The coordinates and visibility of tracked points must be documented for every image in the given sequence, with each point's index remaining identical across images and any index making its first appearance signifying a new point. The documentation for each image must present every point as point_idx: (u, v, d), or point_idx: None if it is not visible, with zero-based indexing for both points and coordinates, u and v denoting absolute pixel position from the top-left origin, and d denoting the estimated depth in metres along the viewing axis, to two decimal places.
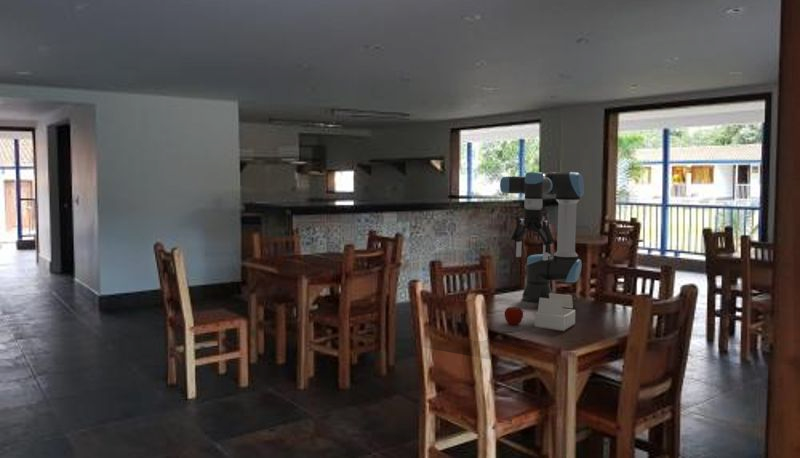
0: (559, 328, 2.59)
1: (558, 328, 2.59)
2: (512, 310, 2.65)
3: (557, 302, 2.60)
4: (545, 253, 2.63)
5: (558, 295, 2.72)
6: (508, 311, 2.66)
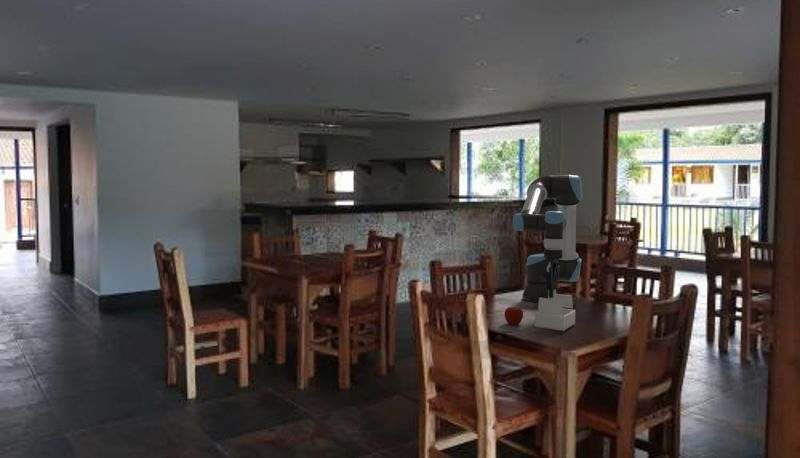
0: (559, 328, 2.59)
1: (558, 328, 2.59)
2: (512, 310, 2.65)
3: (557, 302, 2.59)
4: (549, 298, 2.62)
5: (558, 295, 2.72)
6: (508, 311, 2.66)
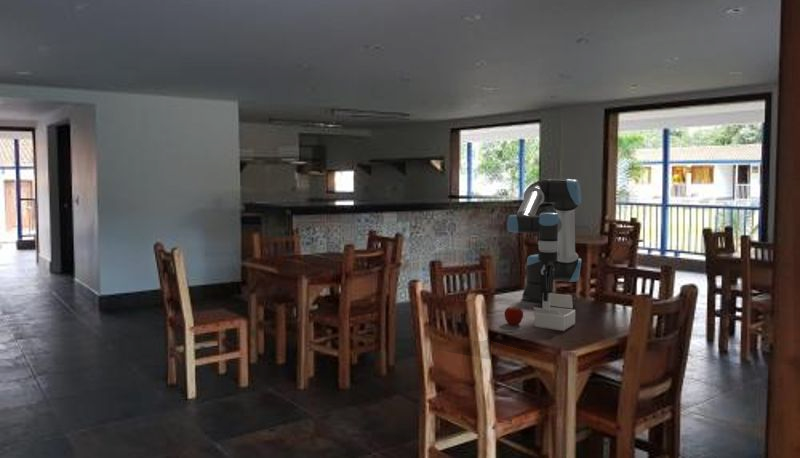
0: (559, 328, 2.59)
1: (558, 328, 2.59)
2: (512, 310, 2.65)
3: (552, 311, 2.55)
4: (544, 301, 2.56)
5: (558, 295, 2.72)
6: (508, 311, 2.66)
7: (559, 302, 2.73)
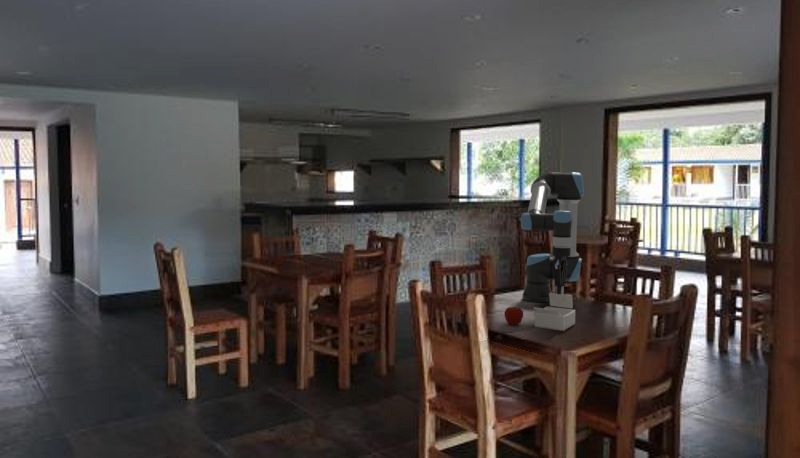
0: (559, 328, 2.59)
1: (558, 328, 2.59)
2: (512, 310, 2.65)
3: (552, 311, 2.55)
4: (557, 294, 2.71)
5: None
6: (508, 311, 2.66)
7: (559, 302, 2.73)
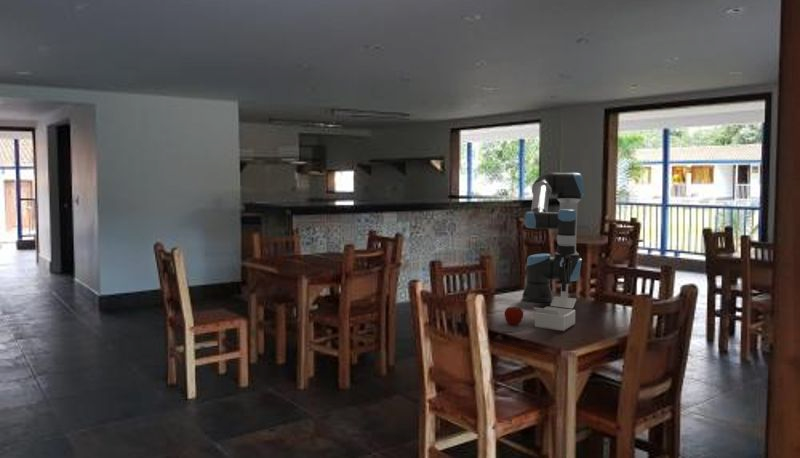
0: (559, 328, 2.59)
1: (558, 328, 2.59)
2: (512, 310, 2.65)
3: (552, 311, 2.55)
4: (562, 291, 2.76)
5: None
6: (508, 311, 2.66)
7: (561, 303, 2.75)
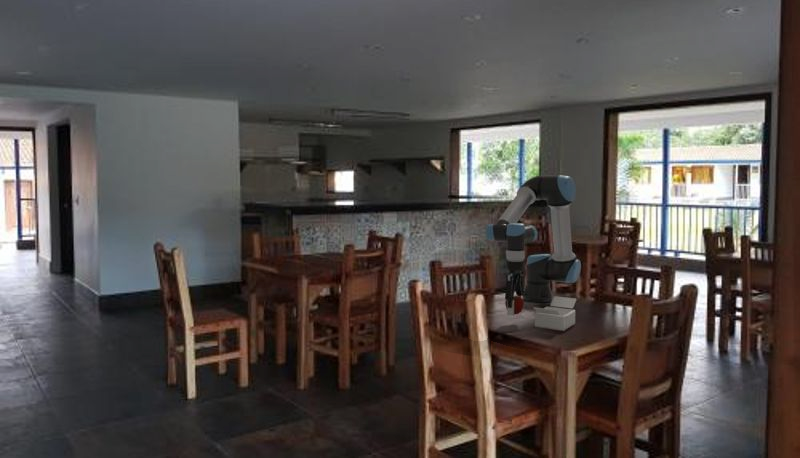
0: (559, 328, 2.59)
1: (558, 328, 2.59)
2: (513, 299, 2.65)
3: (552, 311, 2.55)
4: (508, 308, 2.65)
5: (563, 297, 2.78)
6: None
7: (561, 303, 2.75)
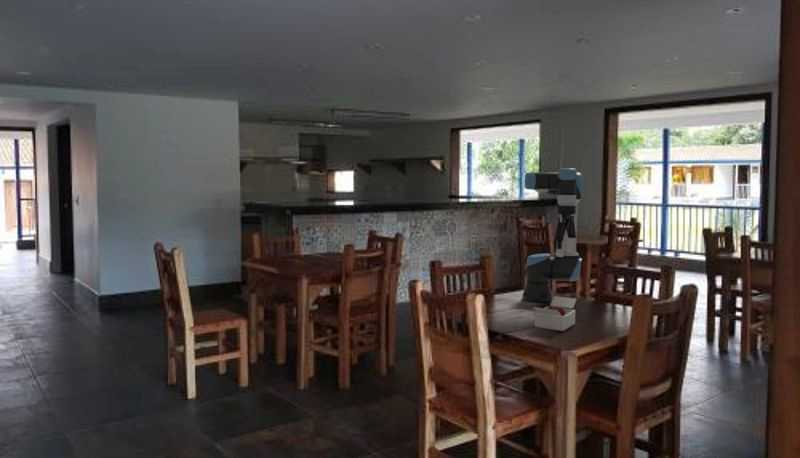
0: (559, 328, 2.59)
1: (558, 328, 2.59)
2: None
3: (552, 311, 2.55)
4: (558, 249, 2.63)
5: (563, 297, 2.78)
6: None
7: (561, 303, 2.75)
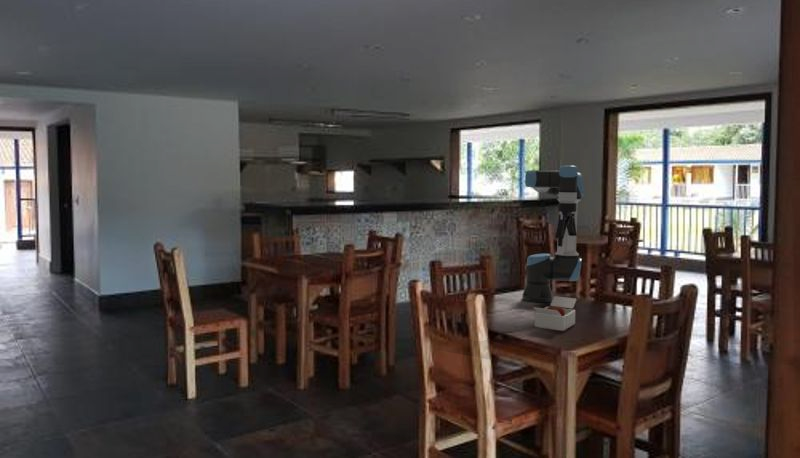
0: (559, 328, 2.59)
1: (558, 328, 2.59)
2: None
3: (552, 311, 2.55)
4: (558, 247, 2.62)
5: (563, 297, 2.78)
6: None
7: (561, 303, 2.75)
